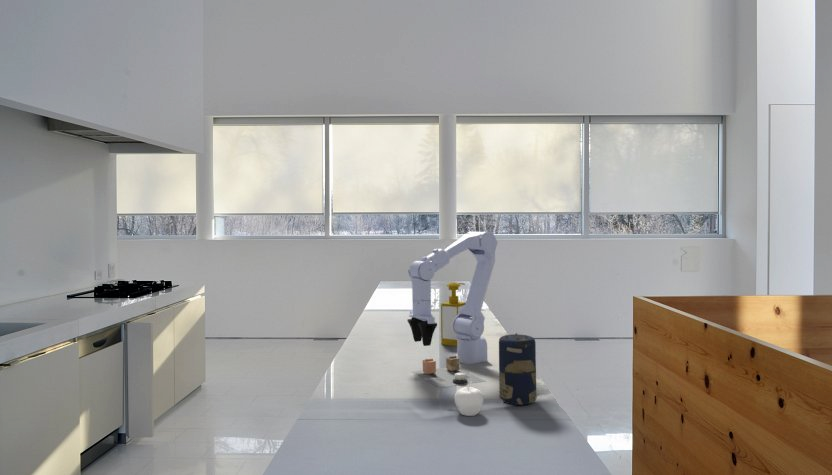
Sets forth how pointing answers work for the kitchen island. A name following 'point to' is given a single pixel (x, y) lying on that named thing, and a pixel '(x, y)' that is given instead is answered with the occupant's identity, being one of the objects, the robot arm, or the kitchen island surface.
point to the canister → (517, 369)
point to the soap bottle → (450, 316)
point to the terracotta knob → (429, 366)
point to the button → (459, 376)
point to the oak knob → (452, 363)
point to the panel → (447, 377)
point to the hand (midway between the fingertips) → (422, 343)
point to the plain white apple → (469, 400)
